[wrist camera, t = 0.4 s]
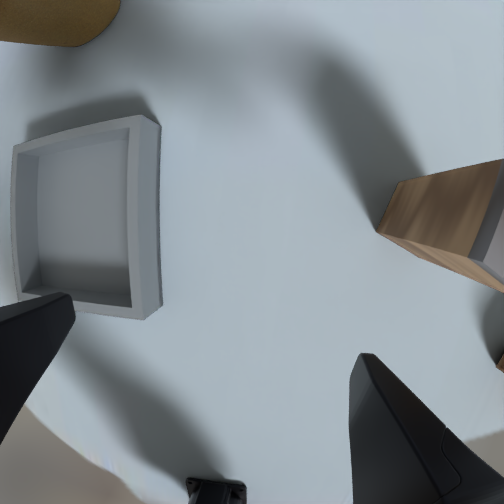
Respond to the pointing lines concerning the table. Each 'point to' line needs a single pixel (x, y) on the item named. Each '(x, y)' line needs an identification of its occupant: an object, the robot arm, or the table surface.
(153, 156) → the box
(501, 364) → the tin
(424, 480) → the robot arm
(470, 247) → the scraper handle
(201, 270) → the table surface
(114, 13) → the plant pot
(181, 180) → the table surface
